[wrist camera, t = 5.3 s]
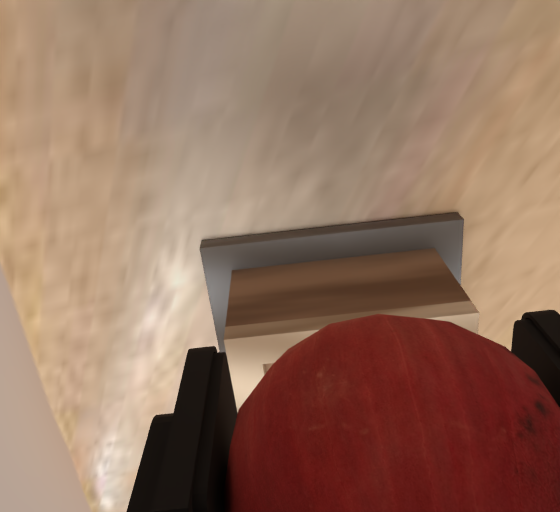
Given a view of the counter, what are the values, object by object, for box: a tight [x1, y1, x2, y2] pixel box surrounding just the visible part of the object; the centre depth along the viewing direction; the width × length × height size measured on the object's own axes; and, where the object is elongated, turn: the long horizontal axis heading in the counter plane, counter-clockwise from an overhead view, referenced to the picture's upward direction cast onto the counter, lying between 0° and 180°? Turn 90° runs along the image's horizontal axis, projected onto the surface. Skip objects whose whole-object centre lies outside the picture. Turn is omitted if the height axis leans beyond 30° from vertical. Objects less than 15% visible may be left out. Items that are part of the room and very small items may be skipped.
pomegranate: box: [224, 314, 560, 512], centre depth 9 cm, size 6×6×8 cm
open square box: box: [200, 212, 479, 412], centre depth 28 cm, size 14×14×8 cm
